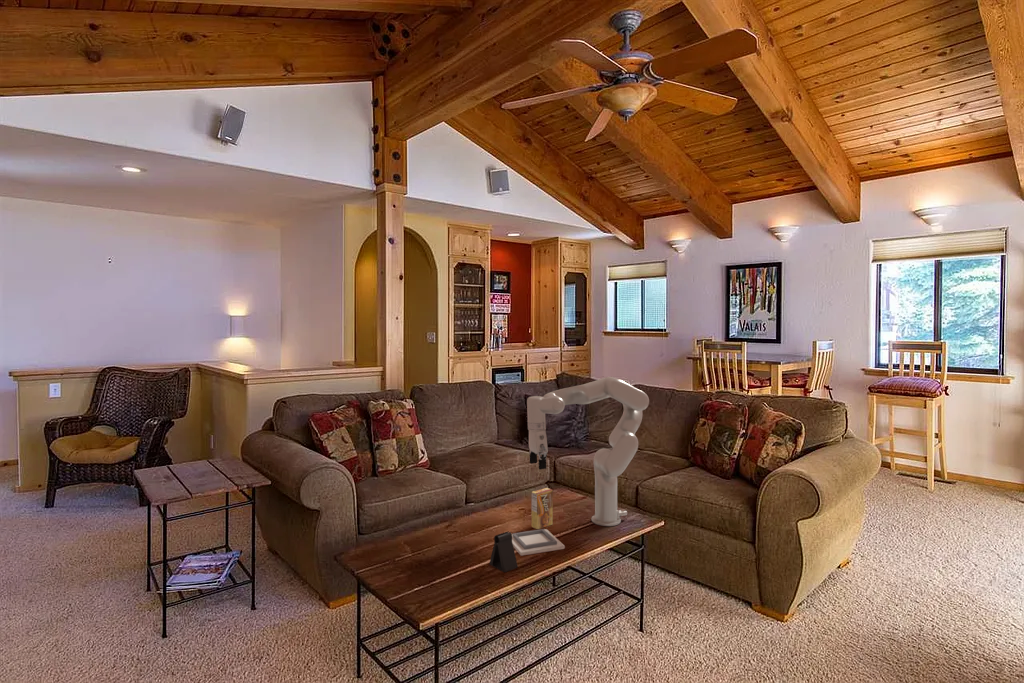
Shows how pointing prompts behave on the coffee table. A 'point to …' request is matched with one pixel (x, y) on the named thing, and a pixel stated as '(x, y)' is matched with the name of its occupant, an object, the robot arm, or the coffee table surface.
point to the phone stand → (503, 553)
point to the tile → (535, 542)
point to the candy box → (542, 508)
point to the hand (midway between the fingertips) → (537, 466)
